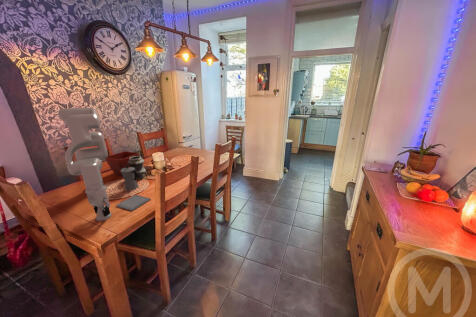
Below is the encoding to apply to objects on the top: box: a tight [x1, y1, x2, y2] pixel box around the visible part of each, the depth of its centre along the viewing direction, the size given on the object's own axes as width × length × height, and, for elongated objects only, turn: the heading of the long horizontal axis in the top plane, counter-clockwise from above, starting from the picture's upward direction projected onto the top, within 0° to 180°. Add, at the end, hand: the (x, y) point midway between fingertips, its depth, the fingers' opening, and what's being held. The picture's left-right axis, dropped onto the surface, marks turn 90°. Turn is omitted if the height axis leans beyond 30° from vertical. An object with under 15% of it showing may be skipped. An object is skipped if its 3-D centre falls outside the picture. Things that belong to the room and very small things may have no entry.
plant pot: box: [105, 150, 140, 177], centre depth 159 cm, size 19×19×17 cm
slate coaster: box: [115, 194, 152, 212], centre depth 116 cm, size 14×14×1 cm
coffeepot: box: [120, 166, 139, 192], centre depth 132 cm, size 15×9×18 cm, turn 64°
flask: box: [95, 205, 112, 222], centre depth 100 cm, size 7×7×10 cm
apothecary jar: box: [128, 155, 147, 181], centre depth 150 cm, size 12×12×18 cm
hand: (102, 213), depth 101 cm, fingers open, 6 cm apart
